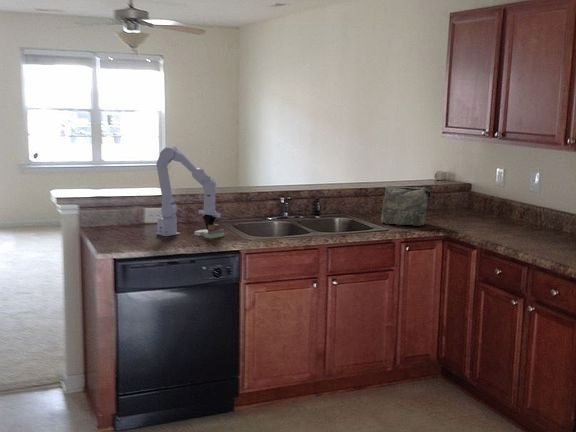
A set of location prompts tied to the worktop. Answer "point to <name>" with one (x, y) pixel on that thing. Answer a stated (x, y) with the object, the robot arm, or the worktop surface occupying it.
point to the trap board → (212, 233)
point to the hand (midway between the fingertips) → (209, 230)
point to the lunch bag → (405, 205)
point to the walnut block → (213, 227)
